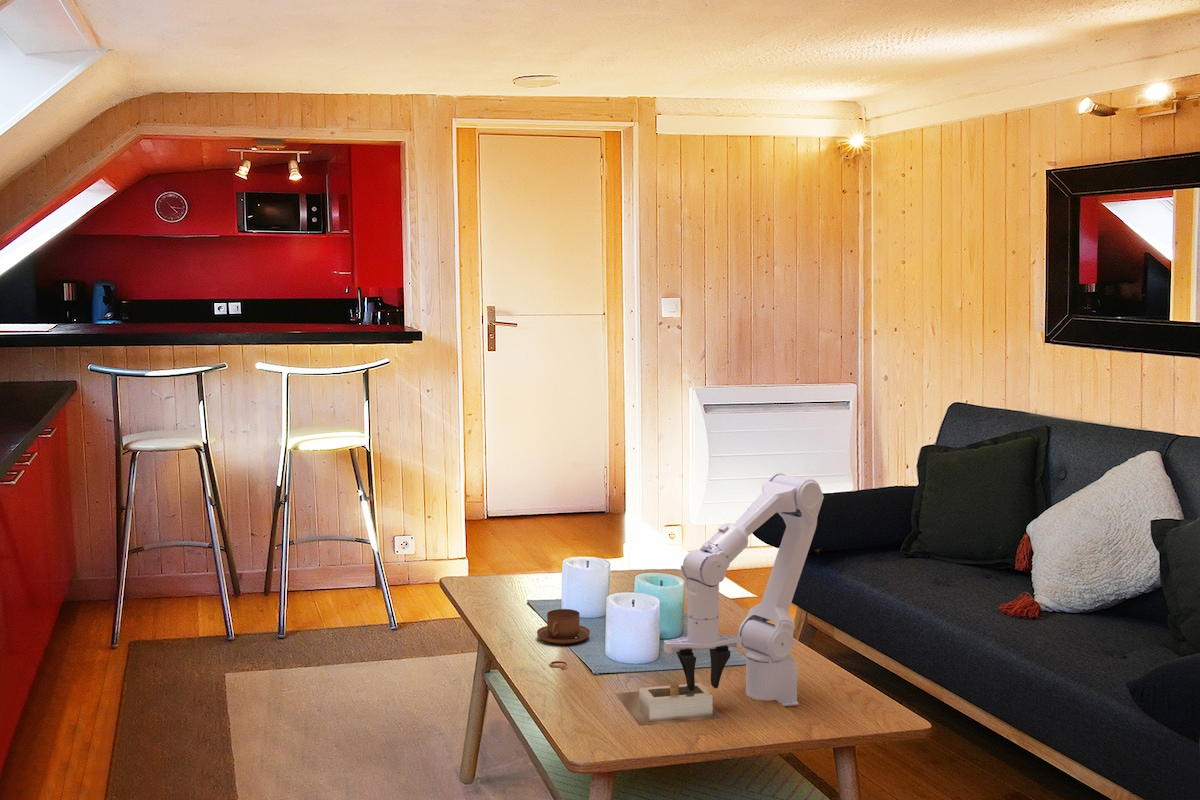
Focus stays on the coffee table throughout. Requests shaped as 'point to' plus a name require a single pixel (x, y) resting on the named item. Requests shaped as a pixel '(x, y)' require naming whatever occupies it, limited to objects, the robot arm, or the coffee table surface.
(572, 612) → the cup and saucer
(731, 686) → the coffee table surface
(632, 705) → the board
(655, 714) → the cream hollow block
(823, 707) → the coffee table surface
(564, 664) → the key
